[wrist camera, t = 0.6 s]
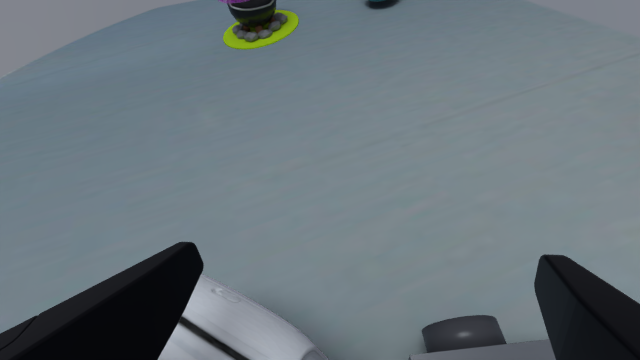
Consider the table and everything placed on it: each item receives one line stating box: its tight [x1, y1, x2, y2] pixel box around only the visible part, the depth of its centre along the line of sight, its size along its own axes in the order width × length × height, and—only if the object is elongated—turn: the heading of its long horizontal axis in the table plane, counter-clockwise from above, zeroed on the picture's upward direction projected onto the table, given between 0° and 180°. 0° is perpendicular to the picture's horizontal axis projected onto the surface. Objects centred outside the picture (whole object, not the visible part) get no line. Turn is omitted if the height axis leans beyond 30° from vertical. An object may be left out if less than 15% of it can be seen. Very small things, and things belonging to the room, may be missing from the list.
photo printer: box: [158, 273, 329, 360], centre depth 17 cm, size 10×4×12 cm, turn 63°
